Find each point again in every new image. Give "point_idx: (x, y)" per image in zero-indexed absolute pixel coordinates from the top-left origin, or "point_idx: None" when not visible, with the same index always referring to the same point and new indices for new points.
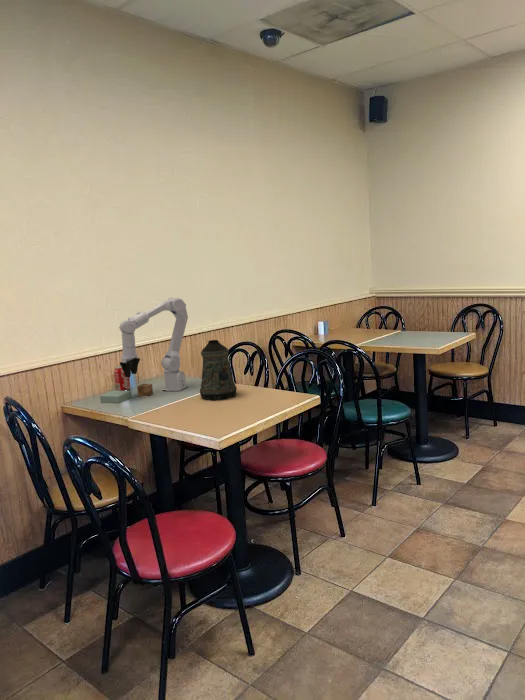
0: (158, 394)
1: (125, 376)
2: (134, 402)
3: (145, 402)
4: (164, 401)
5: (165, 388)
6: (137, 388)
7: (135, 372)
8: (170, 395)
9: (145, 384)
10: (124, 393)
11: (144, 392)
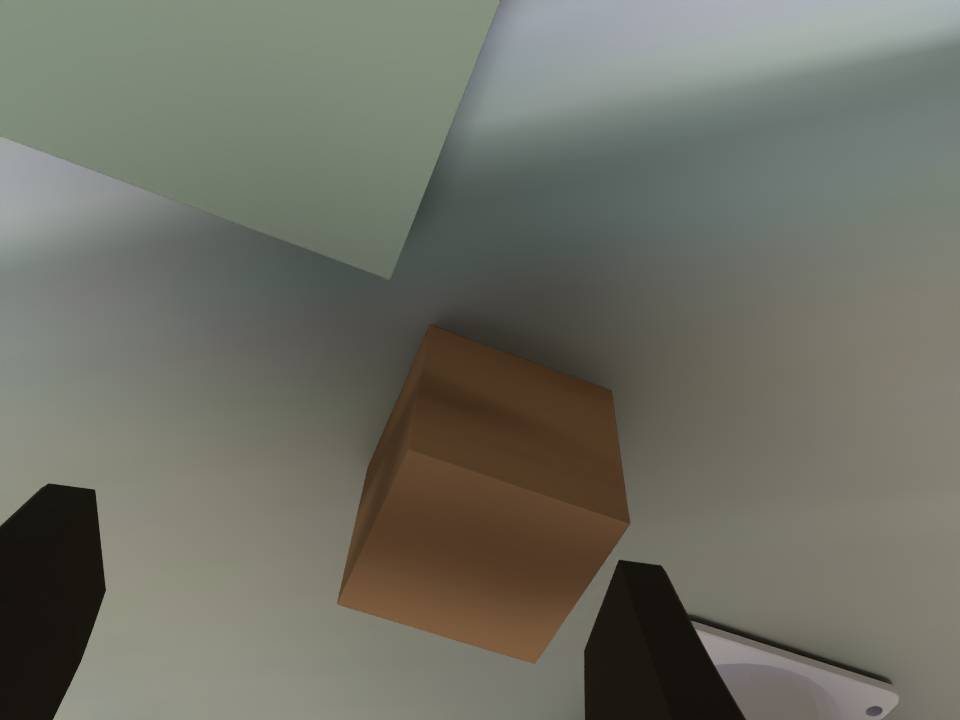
0: None
1: (26, 502)
2: (12, 332)
3: (9, 486)
4: None
5: (748, 659)
6: (410, 423)
7: (590, 683)
8: (360, 710)
9: (532, 574)
10: (175, 173)
11: (374, 482)
